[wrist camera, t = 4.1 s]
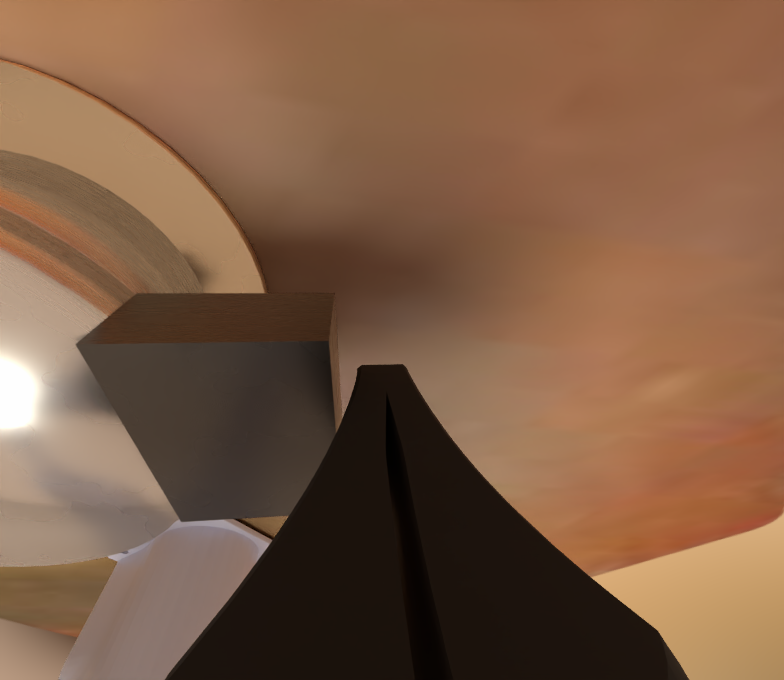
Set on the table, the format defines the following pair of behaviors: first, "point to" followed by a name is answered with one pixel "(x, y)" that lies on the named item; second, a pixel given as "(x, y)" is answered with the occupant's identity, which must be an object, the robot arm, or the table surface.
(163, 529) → the cooker lid
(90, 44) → the table surface
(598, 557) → the table surface
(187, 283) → the cooker pot
